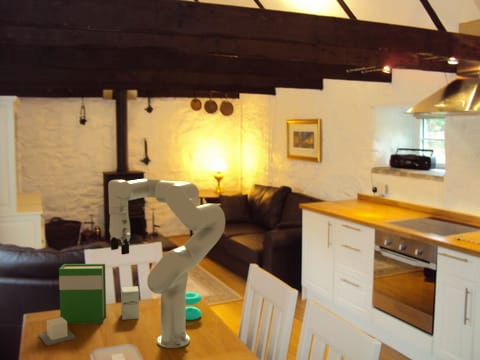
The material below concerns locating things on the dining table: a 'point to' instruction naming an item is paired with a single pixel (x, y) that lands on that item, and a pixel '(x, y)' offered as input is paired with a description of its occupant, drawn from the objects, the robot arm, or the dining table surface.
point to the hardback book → (82, 293)
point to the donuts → (192, 299)
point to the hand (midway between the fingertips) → (119, 251)
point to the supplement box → (130, 302)
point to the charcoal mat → (49, 342)
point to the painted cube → (57, 328)
